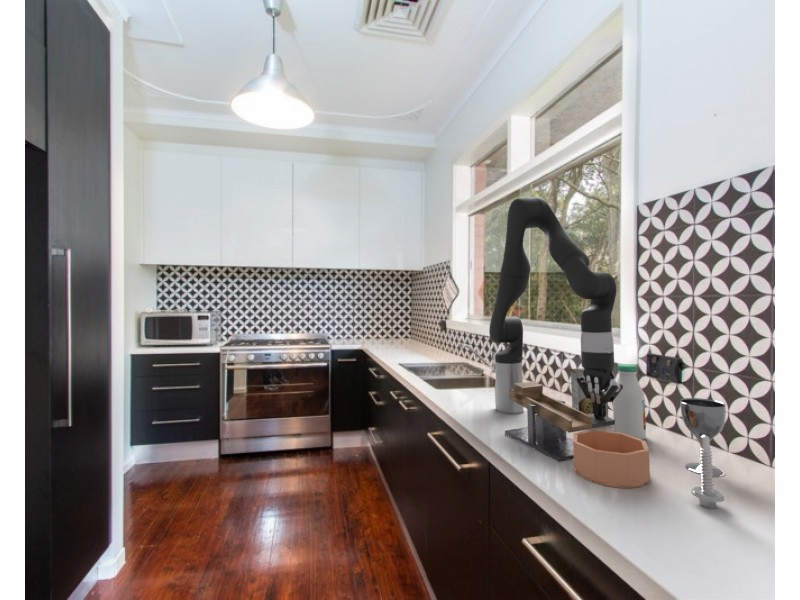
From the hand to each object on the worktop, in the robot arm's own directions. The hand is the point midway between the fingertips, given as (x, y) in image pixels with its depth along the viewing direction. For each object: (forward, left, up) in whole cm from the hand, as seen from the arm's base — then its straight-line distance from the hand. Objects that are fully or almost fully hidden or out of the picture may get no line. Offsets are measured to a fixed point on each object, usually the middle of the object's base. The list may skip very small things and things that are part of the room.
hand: (599, 417), depth 99 cm
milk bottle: (-5, +16, -9) cm, 18 cm away
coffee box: (-21, +18, -9) cm, 29 cm away
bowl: (+10, -8, -9) cm, 16 cm away
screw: (+27, -3, -9) cm, 29 cm away
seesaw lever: (-10, -5, 0) cm, 11 cm away
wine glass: (+17, +12, -9) cm, 23 cm away
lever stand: (-10, -8, -9) cm, 15 cm away
